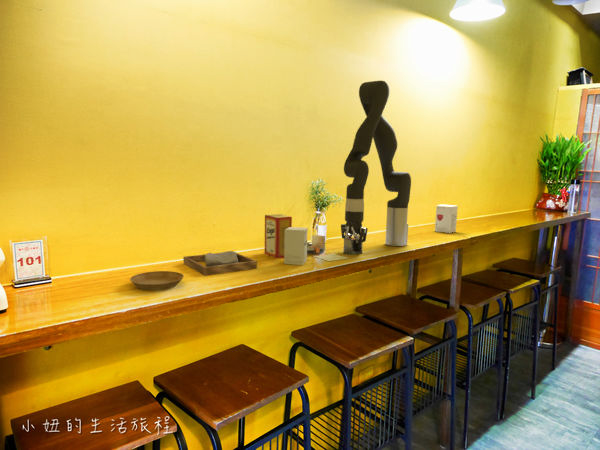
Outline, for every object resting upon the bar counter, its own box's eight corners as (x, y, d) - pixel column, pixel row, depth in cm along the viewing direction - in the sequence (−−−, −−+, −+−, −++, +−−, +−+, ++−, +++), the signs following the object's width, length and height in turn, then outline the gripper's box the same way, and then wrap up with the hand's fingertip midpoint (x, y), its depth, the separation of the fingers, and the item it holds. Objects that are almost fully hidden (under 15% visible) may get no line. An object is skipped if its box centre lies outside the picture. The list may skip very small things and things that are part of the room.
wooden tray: (232, 257, 159) (232, 251, 159) (256, 268, 144) (257, 261, 144) (183, 263, 148) (183, 256, 148) (204, 275, 133) (204, 268, 133)
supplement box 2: (434, 231, 235) (435, 205, 232) (440, 230, 241) (442, 204, 239) (450, 233, 229) (452, 206, 227) (456, 231, 236) (458, 205, 233)
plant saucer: (155, 276, 132) (154, 268, 131) (194, 282, 126) (193, 274, 126) (118, 289, 118) (118, 280, 118) (160, 296, 113) (160, 286, 112)
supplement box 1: (303, 265, 150) (304, 230, 148) (283, 264, 151) (283, 229, 149) (307, 260, 157) (308, 227, 155) (288, 259, 158) (288, 226, 156)
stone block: (240, 271, 147) (236, 259, 156) (240, 259, 145) (236, 248, 154) (205, 274, 144) (203, 262, 153) (205, 261, 142) (203, 250, 151)
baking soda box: (291, 256, 164) (291, 215, 161) (276, 258, 160) (277, 216, 158) (278, 252, 171) (279, 213, 169) (264, 253, 168) (264, 214, 166)
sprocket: (332, 249, 176) (332, 234, 175) (315, 254, 164) (315, 238, 164) (303, 245, 184) (303, 230, 183) (285, 250, 172) (285, 234, 171)
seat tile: (332, 253, 170) (332, 253, 170) (348, 258, 162) (348, 257, 162) (312, 256, 164) (312, 255, 164) (328, 261, 156) (328, 260, 156)
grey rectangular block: (357, 251, 177) (358, 236, 176) (364, 252, 174) (364, 238, 173) (341, 253, 172) (341, 238, 171) (347, 255, 168) (348, 240, 168)
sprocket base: (311, 247, 183) (311, 245, 183) (330, 252, 173) (330, 251, 173) (286, 250, 176) (286, 248, 176) (304, 255, 165) (304, 254, 165)
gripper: (373, 211, 166) (371, 253, 169) (349, 207, 178) (348, 247, 180) (359, 212, 162) (358, 254, 165) (335, 208, 174) (334, 248, 176)
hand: (352, 250), depth 172 cm, fingers open, 5 cm apart
